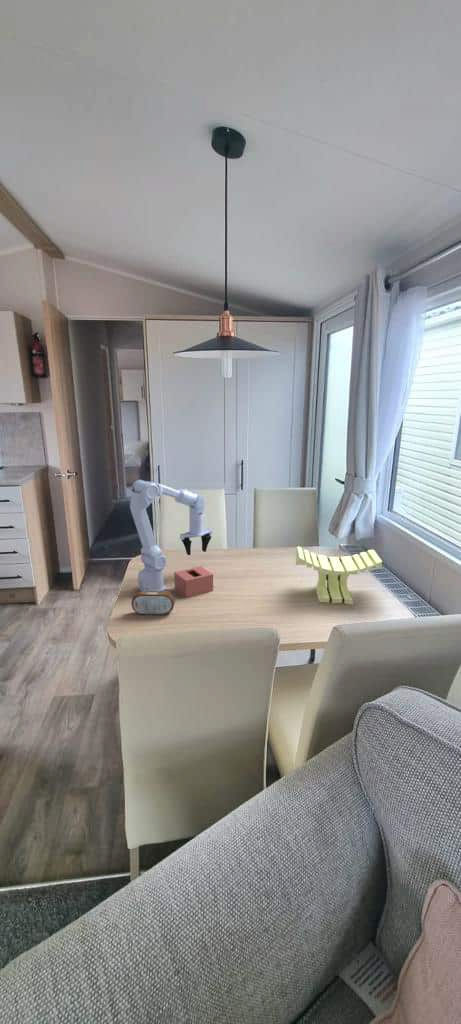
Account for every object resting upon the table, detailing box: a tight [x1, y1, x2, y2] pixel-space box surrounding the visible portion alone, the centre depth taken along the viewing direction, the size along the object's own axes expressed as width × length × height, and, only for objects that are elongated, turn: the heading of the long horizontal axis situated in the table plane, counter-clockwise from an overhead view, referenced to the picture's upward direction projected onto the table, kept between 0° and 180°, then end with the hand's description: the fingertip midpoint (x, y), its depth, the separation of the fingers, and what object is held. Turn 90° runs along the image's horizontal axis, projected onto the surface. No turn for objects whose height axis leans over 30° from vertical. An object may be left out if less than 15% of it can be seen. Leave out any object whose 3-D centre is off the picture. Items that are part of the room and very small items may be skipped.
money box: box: [173, 566, 214, 598], centre depth 173 cm, size 12×10×7 cm
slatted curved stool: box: [295, 546, 383, 605], centre depth 170 cm, size 30×16×18 cm, turn 86°
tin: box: [131, 590, 176, 616], centre depth 153 cm, size 15×3×8 cm, turn 92°
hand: (196, 552), depth 185 cm, fingers open, 7 cm apart
